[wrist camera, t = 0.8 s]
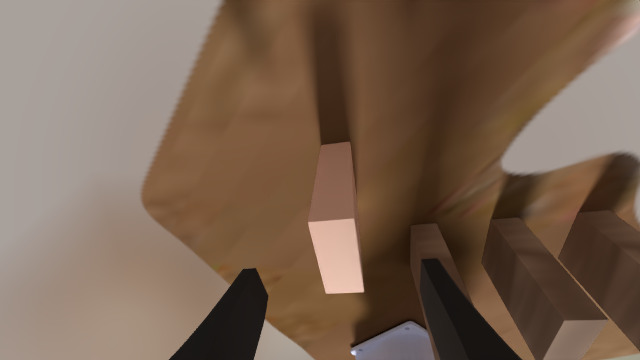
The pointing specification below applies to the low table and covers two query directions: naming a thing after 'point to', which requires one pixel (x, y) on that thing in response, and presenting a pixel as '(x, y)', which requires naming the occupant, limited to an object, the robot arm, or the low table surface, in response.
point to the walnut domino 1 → (428, 246)
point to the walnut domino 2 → (540, 293)
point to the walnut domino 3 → (607, 266)
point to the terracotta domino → (336, 220)
